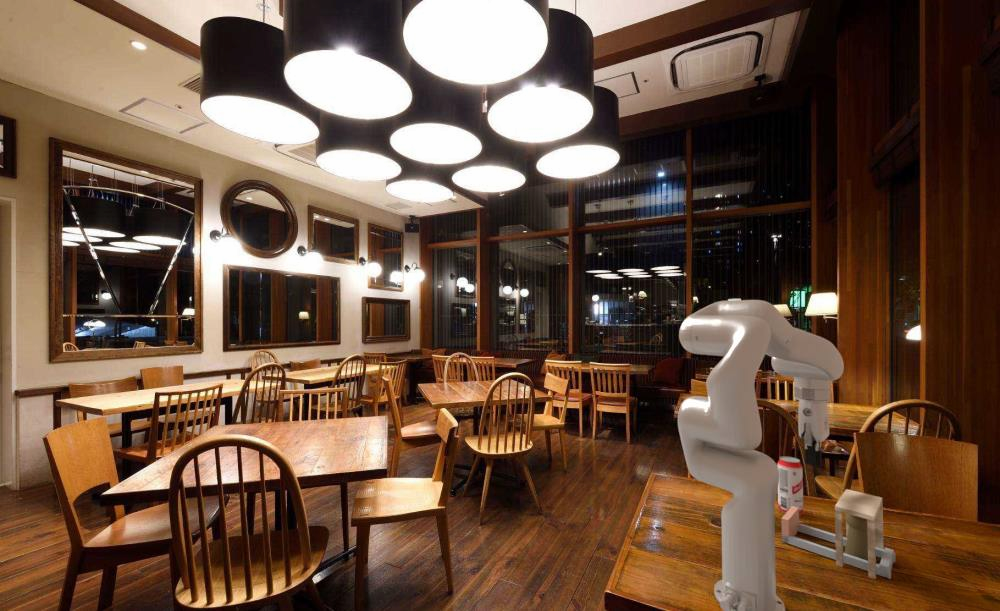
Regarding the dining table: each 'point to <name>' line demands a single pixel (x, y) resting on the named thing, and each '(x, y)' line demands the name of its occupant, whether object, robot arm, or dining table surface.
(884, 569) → the sled
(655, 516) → the dining table surface
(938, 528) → the dining table surface
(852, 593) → the dining table surface
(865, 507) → the stool
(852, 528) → the cork
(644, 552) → the dining table surface
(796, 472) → the beer can
